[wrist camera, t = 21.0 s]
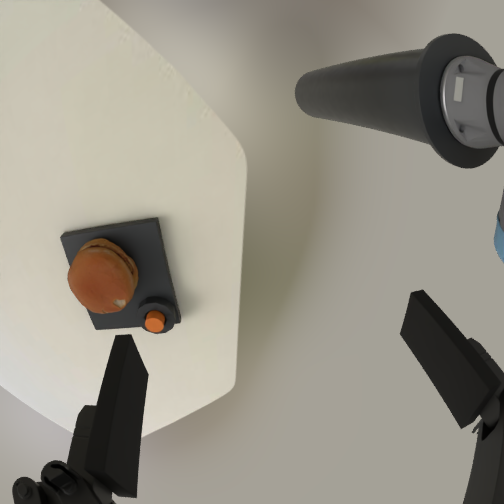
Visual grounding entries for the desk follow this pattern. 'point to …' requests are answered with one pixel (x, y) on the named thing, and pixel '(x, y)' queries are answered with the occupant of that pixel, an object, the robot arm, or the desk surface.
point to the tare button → (155, 321)
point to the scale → (149, 272)
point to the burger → (103, 276)
